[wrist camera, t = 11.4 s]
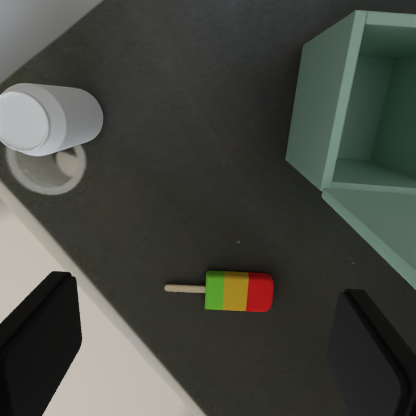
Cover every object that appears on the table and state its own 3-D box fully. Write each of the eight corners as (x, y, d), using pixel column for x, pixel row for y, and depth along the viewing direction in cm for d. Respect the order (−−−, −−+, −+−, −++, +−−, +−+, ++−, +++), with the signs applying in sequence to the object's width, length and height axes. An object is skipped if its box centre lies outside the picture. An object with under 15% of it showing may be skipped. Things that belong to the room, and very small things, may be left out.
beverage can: (45, 97, 36) (-34, 96, 25) (93, 80, 36) (34, 70, 24) (68, 148, 38) (4, 168, 27) (114, 133, 37) (68, 147, 26)
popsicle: (269, 305, 45) (271, 314, 43) (166, 300, 45) (163, 308, 43) (273, 271, 43) (275, 279, 41) (165, 266, 43) (163, 273, 42)
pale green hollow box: (302, 44, 34) (355, 9, 21) (400, 52, 34) (515, 21, 21) (285, 159, 38) (320, 190, 25) (371, 166, 38) (452, 200, 25)
